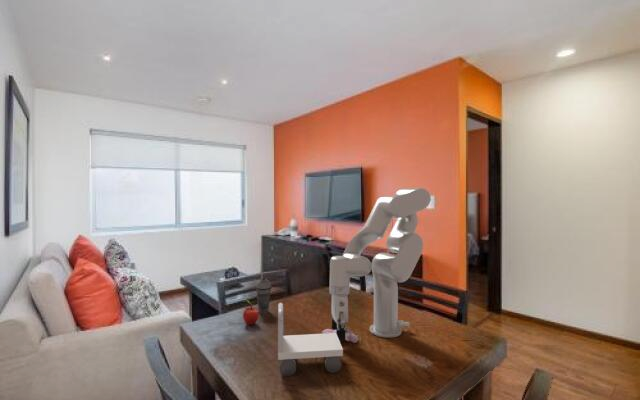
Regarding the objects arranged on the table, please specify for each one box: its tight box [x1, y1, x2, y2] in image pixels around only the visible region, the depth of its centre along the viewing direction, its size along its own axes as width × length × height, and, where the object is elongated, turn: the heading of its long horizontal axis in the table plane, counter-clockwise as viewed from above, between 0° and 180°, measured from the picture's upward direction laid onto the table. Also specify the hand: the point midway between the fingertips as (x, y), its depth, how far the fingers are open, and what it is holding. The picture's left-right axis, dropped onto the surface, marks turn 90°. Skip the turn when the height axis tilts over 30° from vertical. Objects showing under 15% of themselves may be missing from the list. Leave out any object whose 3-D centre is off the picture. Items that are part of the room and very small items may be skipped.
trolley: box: [277, 302, 344, 377], centre depth 103 cm, size 20×13×18 cm, turn 97°
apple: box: [242, 299, 260, 326], centre depth 135 cm, size 8×7×10 cm
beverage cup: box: [255, 269, 272, 314], centre depth 149 cm, size 7×7×20 cm
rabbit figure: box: [321, 326, 362, 344], centre depth 119 cm, size 6×6×15 cm
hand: (338, 334), depth 119 cm, fingers open, 9 cm apart
